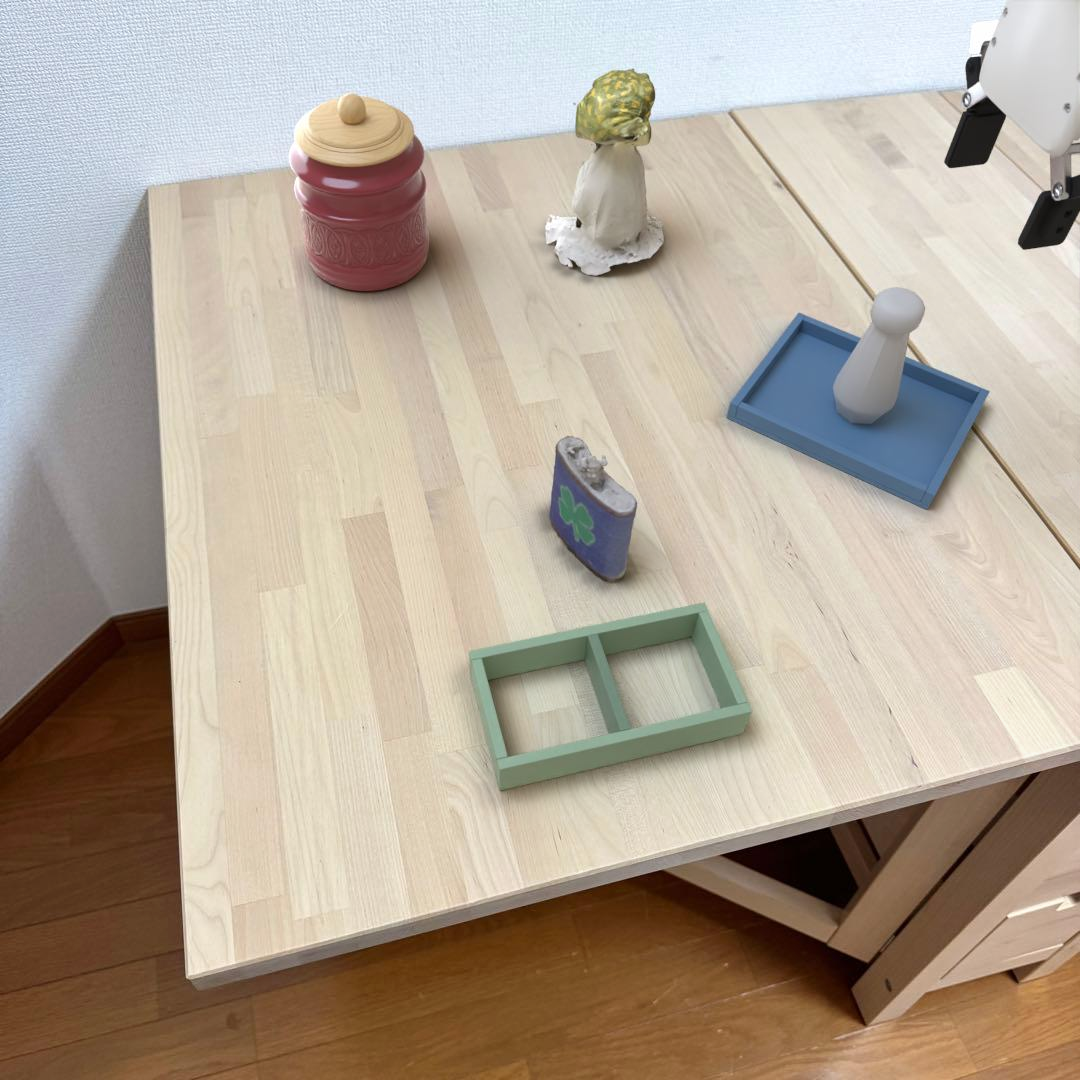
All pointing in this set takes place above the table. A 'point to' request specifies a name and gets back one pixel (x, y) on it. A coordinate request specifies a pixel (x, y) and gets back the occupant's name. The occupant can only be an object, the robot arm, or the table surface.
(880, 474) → the tray
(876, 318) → the salt shaker
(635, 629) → the frame
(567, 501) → the flask
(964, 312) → the table surface
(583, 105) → the mushroom
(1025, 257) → the table surface
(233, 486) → the table surface
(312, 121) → the kitchen canister
